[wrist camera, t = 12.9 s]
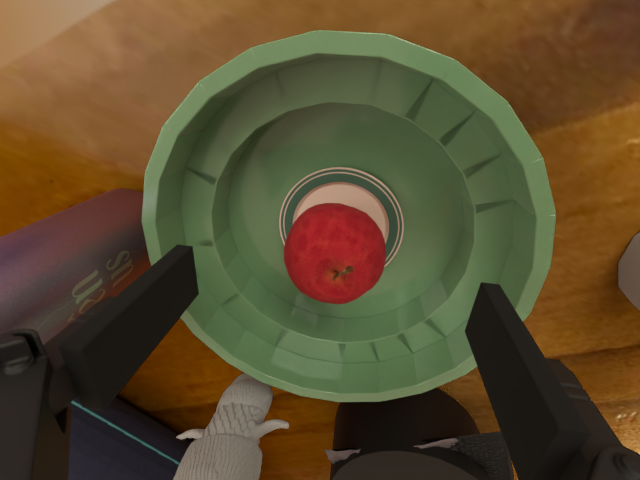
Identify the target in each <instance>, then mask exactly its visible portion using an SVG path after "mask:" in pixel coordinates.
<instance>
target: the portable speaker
mask: <svg viewBox="0 0 640 480" xmlns="http://www.w3.org/2000/svg"><path fill="white" fill-rule="evenodd" d="M69 406H70V409H71V429H70V451H69V472H68V480H173V479H174V476H175V474H176V472H177V468H178V466H179V464H180V462H181V460H182V458H183V457H184V454H185V453H186V451H187V448H188V447H189V445H190V444H191V442H190V441H188V440H186V439H182V440H180V439H178V438H176V437H177V436H178V434H176V433H175V432H173V431H171V430H170V429H168V428H166V427H165V426H163V425H161V424H160V423H158V422H156V421H155V420H153V419H151V418H150V417H148V416H147V415H145V414H143V413H142V412H140V411H138V410H137V409H135V408H133V407H132V406H130V405H128V404H127V403H125V402H123V401H122V400H120V399H118V398H117V397H115V398H114V399H113V401H112V402H111V403H110V404H109V406H108V407H107V408H106V409H105V411H99V410H93V409H88V408H83V407H82V405H81V402H80V400H79V397H78V396H77V397H76V398H75V399H74V400H73V401H72V402H71V403H70V404H69Z"/></svg>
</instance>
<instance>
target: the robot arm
mask: <svg viewBox="0 0 640 480" xmlns="http://www.w3.org/2000/svg"><path fill="white" fill-rule="evenodd" d="M198 294H199V291H198V283H197V276H196V268H195V261H194V253H193V246H186V245H178V244H177V245H176V246H175V247H174V248H172V249H171V250H170V251H169V252H168V253H167V254H165V255H164V256H163V257H162V258H161V259H159V260H158V261H157V262H156V263H155V264H153V265H152V266H151V267H150V268H149V269H148V270H146V271H145V272H144V273H143V274H142V275H140V276H139V277H138V278H137V279H136V280H135V281H133V282H132V283H131V284H130V285H129V286H127V287H126V288H125V289H124V290H123V291H121V292H120V293H119V294H118V295H117V296H116V297H112V296H109V297H107V298H105V299H103V300H101V301H99V302H97V303H95V304H94V305H93V306H91V307H90V308H89V309H88V310H86V311H85V312H84V314H81V315H80V316H79V317H78V318H76V319H75V321H74V322H71V323H70V324H69V325H68V326H66V327H65V328H64V329H63V330H62V331H60V332H59V333H58V334H57V335H55V336H54V337H53V338H52V339H50V340H49V341H48V342H47V343H45V344H44V345H43V343H42V341H41V339H40V336H39V334H38V332H37V331H35V330H33V329H27V328H23V329H17V330H12V331H9V332H6V333H3V334H1V335H0V480H68V472H69V451H70V429H71V409H70V406H69V404H70V403H71V402H72V401H73V400H74V399H75V398H76V397H77V396H78V397H79V400H80V402H81V405H82V407H83V408H88V409H93V410H99V411H105V409H106V408H107V407H108V406H109V404H110V403H111V402H112V401H113V399H114V398H115V397H116V396H117V394H118V393H119V392H120V391H121V390H122V388H123V387H124V386H125V385H126V383H127V382H128V381H129V380H130V378H131V377H132V376H133V375H134V373H135V372H136V371H137V370H138V369H139V367H140V366H141V365H142V364H143V362H144V361H145V360H146V359H147V357H148V356H149V355H150V354H151V352H152V351H153V350H154V349H155V348H156V346H157V345H158V344H159V343H160V341H161V340H162V339H163V338H164V336H165V335H166V334H167V333H168V332H169V330H170V329H171V328H172V327H173V325H174V324H175V323H176V322H177V320H178V319H179V318H180V317H181V315H182V314H183V313H184V312H185V311H186V309H187V308H188V307H189V306H190V304H191V303H192V302H193V301H194V299H195V298H196V297H197V296H198ZM465 334H466V336H467V339H468V342H469V345H470V347H471V350H472V353H473V356H474V358H475V361H476V364H477V367H478V369H479V372H480V375H481V377H482V380H483V383H484V386H485V388H486V391H487V394H488V397H489V399H490V402H491V405H492V408H493V410H494V413H495V416H496V419H497V421H498V424H499V427H500V429H501V432H502V435H503V438H504V440H505V443H506V446H507V449H508V451H509V454H510V457H511V460H512V462H513V465H514V468H515V470H516V473H517V476H518V479H519V480H640V455H639V454H638V453H636V452H634V451H632V450H630V449H628V448H626V447H624V446H623V445H622V444H621V442H620V441H619V439H618V438H617V437H616V435H615V434H614V432H613V431H612V429H611V428H610V426H609V425H608V423H607V422H606V420H605V419H604V418H603V416H602V415H601V413H600V412H599V410H598V409H597V407H596V406H595V404H594V403H593V401H590V397H589V396H588V394H587V393H586V391H585V390H583V389H582V385H581V384H580V382H579V381H578V379H577V378H576V377H575V375H574V374H573V373H572V372H571V371H570V370H569V369H568V368H567V367H566V366H565V365H563V364H562V363H561V362H560V361H559V360H554V359H547V358H545V357H544V355H543V354H542V352H541V351H540V349H539V347H538V346H537V344H536V343H535V341H534V339H533V338H532V336H531V334H530V333H529V331H528V330H527V328H526V326H525V325H524V323H523V322H522V320H521V318H520V317H519V315H518V314H517V312H516V310H515V309H514V307H513V305H512V304H511V302H510V301H509V299H508V297H507V296H506V294H505V293H504V291H503V289H502V288H501V286H500V284H492V283H484V282H481V284H480V286H479V289H478V292H477V295H476V298H475V301H474V304H473V307H472V310H471V313H470V316H469V319H468V322H467V325H466V328H465Z"/></svg>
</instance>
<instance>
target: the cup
mask: <svg viewBox="0 0 640 480" xmlns="http://www.w3.org/2000/svg"><path fill="white" fill-rule="evenodd" d="M618 287H619V288H620V289H621V291H622V292H623V293H624V294H625V296H626V297H627V298H628V299H629V301H630V302H631V303H632V304H633V305H634V306H635V307H636V308H637V309H638V310H640V232H639V233H638V234H636V235H635V236H634V237H633V239H632V240H631V242H630V244H629V245H628V247H627V249H626V250H625V252H624V254H623V255H622V257H621V259H620V261H619V262H618Z"/></svg>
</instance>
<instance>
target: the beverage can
mask: <svg viewBox="0 0 640 480" xmlns="http://www.w3.org/2000/svg"><path fill="white" fill-rule="evenodd" d="M142 206H143V193H141V192H139V191H135V190H131V189H124V188H121V189H114V190H111V191H108V192H106V193H104V194H101V195H99V196H97V197H94V198H92V199H90V200H87V201H85V202H82V203H80V204H78V205H75V206H73V207H71V208H68V209H66V210H64V211H61V212H59V213H56V214H54V215H52V216H49V217H47V218H45V219H42V220H40V221H38V222H35V223H33V224H31V225H28V226H26V227H23V228H21V229H19V230H16V231H14V232H12V233H9V234H7V235H5V236H2V237H0V335H1V334H3V333H6V332H9V331H12V330H17V329H23V328H27V329H33V330H35V331H37V332H38V334H39V336H40V339H41V341H42V343H43V345H44V344H45V343H47V342H48V341H49V340H50V339H52V338H53V337H54V336H55V335H57V334H58V333H59V332H60V331H62V330H63V329H64V328H65V327H66V326H68V325H69V324H70V323H71V322H74V321H75V319H76V318H78V317H79V316H80V315H81V314H84V312H85V311H86V310H88V309H89V308H90V307H91V306H93V305H94V304H95V303H97V302H99V301H101V300H103V299H105V298H107V297H109V296H112V297H116V296H117V295H118V294H119V293H120V292H121V291H123V290H124V289H125V288H126V287H127V286H129V285H130V284H131V283H132V282H133V281H135V280H136V279H137V278H138V277H139V276H140V275H142V274H143V273H144V272H145V271H146V270H148V269H149V268H150V267H151V263H150V260H149V255H148V250H147V245H146V241H145V236H144V231H143V226H142Z"/></svg>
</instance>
